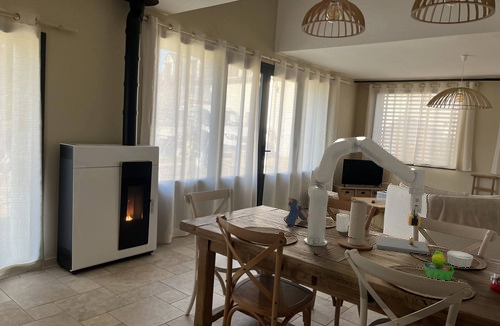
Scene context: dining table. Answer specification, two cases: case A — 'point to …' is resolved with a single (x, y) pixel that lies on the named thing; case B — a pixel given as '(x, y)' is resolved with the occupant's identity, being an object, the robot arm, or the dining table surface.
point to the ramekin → (459, 258)
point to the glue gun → (295, 212)
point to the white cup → (342, 222)
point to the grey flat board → (401, 245)
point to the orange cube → (411, 219)
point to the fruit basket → (438, 267)
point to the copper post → (411, 241)
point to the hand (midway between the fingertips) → (413, 223)
